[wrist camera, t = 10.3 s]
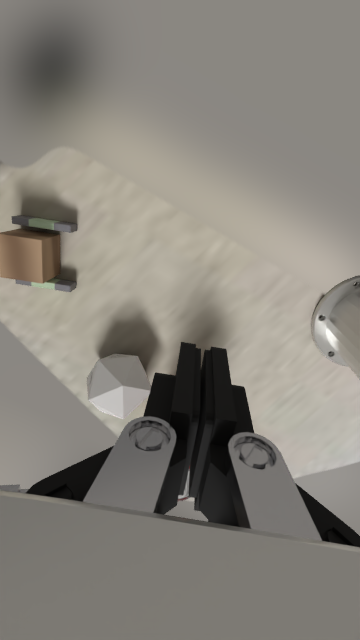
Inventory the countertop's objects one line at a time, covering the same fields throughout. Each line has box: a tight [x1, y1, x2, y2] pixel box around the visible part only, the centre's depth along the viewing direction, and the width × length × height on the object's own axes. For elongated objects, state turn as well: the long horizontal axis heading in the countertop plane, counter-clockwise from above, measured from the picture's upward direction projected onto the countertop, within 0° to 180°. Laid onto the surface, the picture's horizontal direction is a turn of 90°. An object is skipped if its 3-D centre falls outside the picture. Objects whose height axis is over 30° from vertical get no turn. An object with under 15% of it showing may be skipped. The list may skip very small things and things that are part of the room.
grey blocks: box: [12, 215, 77, 292], centre depth 39 cm, size 7×8×2 cm
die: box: [87, 354, 151, 419], centre depth 42 cm, size 8×9×10 cm
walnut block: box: [0, 229, 60, 284], centre depth 38 cm, size 5×5×5 cm
